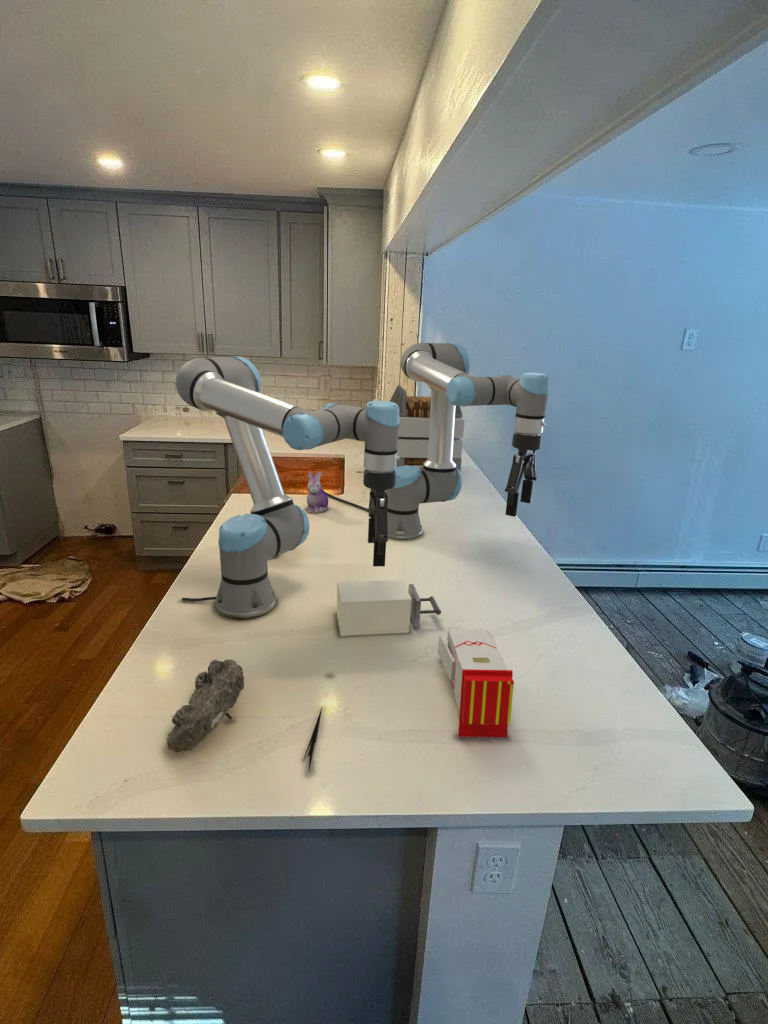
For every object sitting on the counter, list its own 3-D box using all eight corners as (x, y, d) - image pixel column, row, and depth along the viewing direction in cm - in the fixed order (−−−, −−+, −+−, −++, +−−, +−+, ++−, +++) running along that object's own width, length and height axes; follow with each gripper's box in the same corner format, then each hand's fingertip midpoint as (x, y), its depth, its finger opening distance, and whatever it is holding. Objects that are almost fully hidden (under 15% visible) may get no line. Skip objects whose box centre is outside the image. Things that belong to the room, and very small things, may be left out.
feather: (331, 679, 122) (336, 673, 122) (307, 777, 96) (313, 769, 95) (324, 675, 122) (329, 669, 121) (298, 772, 95) (304, 764, 95)
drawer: (432, 608, 149) (434, 583, 147) (441, 626, 141) (443, 600, 138) (351, 611, 146) (352, 586, 143) (355, 630, 137) (356, 603, 135)
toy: (488, 613, 130) (523, 677, 101) (484, 667, 133) (517, 744, 104) (435, 612, 130) (455, 676, 101) (432, 666, 133) (451, 743, 103)
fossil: (192, 660, 117) (244, 628, 112) (224, 691, 120) (276, 661, 115) (142, 746, 98) (202, 712, 93) (182, 779, 101) (242, 748, 96)
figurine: (310, 515, 213) (310, 476, 208) (301, 506, 222) (301, 469, 217) (333, 512, 218) (334, 474, 213) (323, 503, 226) (324, 467, 221)
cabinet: (401, 611, 149) (403, 579, 146) (409, 632, 139) (411, 599, 136) (336, 614, 146) (337, 582, 143) (340, 636, 136) (341, 602, 133)
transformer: (382, 463, 289) (386, 382, 275) (445, 464, 293) (451, 384, 279) (390, 482, 257) (394, 392, 243) (460, 483, 261) (468, 394, 247)
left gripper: (404, 486, 120) (398, 576, 127) (389, 456, 143) (385, 534, 150) (368, 485, 119) (364, 576, 126) (359, 455, 142) (356, 533, 149)
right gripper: (528, 443, 138) (517, 524, 145) (553, 427, 159) (543, 499, 166) (499, 438, 142) (490, 518, 149) (527, 424, 162) (518, 494, 169)
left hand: (375, 553), depth 138 cm, fingers open, 13 cm apart
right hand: (518, 508), depth 157 cm, fingers open, 13 cm apart
